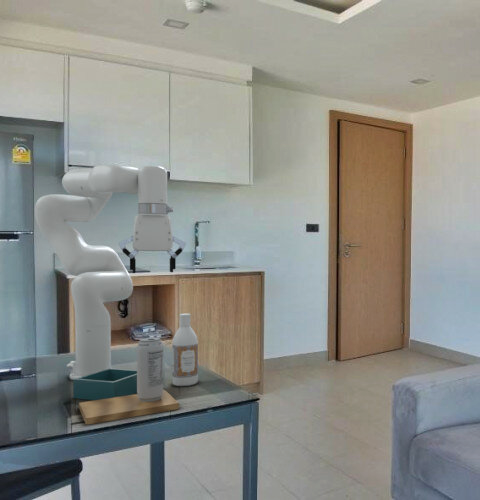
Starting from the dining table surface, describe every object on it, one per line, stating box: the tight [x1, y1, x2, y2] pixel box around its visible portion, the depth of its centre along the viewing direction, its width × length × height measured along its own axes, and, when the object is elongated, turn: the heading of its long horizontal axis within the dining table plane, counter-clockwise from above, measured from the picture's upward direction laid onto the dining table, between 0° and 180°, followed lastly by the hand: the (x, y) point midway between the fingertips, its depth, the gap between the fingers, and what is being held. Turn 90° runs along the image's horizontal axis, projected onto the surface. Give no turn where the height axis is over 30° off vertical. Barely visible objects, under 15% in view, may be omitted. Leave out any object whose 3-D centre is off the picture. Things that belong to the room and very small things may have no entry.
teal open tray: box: [72, 367, 137, 401], centre depth 143 cm, size 13×13×5 cm
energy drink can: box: [136, 336, 164, 402], centre depth 132 cm, size 6×6×15 cm
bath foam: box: [171, 313, 199, 387], centre depth 153 cm, size 7×7×20 cm
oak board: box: [78, 389, 180, 426], centre depth 129 cm, size 20×14×2 cm
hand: (153, 272), depth 148 cm, fingers open, 9 cm apart
